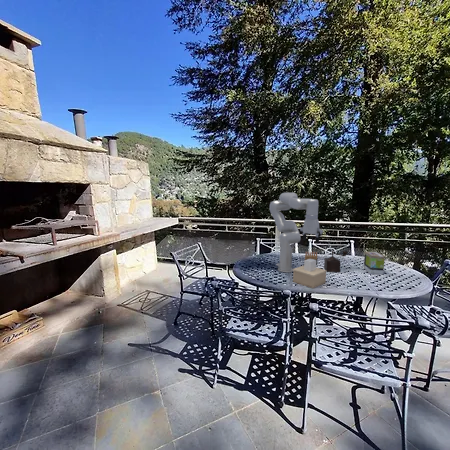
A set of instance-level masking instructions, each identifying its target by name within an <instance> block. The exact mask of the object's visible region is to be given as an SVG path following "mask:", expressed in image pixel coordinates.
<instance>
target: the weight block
mask: <svg viewBox="0 0 450 450" xmlns="http://www.w3.org/2000/svg"><path fill="white" fill-rule="evenodd" d="M303 265H304V270H306V271H309V272H311V271H314V270H316V268H317V265H316V260H314V259H307V260H305V259H304V262H303Z"/></svg>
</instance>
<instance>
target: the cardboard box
mask: <svg viewBox="0 0 450 450" xmlns="http://www.w3.org/2000/svg"><path fill="white" fill-rule="evenodd" d="M292 272H293V275H292V277H293V278H292V282H293V283H295V284H299V285H302V286H304V287H308V288H311V289H315V288H317V287H320V286H322V285H324V284H325V283H326V282H327V281H326V280H327V272H324V273H322V274H320V275H317V276H315V277H312V276H309V275H306V274H302V273H299V272H296V271H292Z"/></svg>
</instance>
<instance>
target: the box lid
mask: <svg viewBox="0 0 450 450" xmlns="http://www.w3.org/2000/svg"><path fill="white" fill-rule="evenodd" d="M293 271H296V272H299V273H302V274H306V275H309V276H312V277H315V276H317V275H320V274H322V273H324V272H326V271H327V270H325V269H324V268H320V267H316V270H314V271H311V272H309V271H306V270H304V264H303V265H301V266H298V267H295V268H293ZM293 271H292V272H293ZM326 273H327V272H326Z"/></svg>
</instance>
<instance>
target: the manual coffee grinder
mask: <svg viewBox="0 0 450 450" xmlns="http://www.w3.org/2000/svg"><path fill="white" fill-rule="evenodd" d="M348 253H349V251H347V250H342V254H341V253H335V252H334V250H331V256H329V257H324V262H323V269H324V270H327V271H326V273H340V272H341V260H340V259H339V258H337V257H334V255H336V256H341V257H347V255H348Z"/></svg>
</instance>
